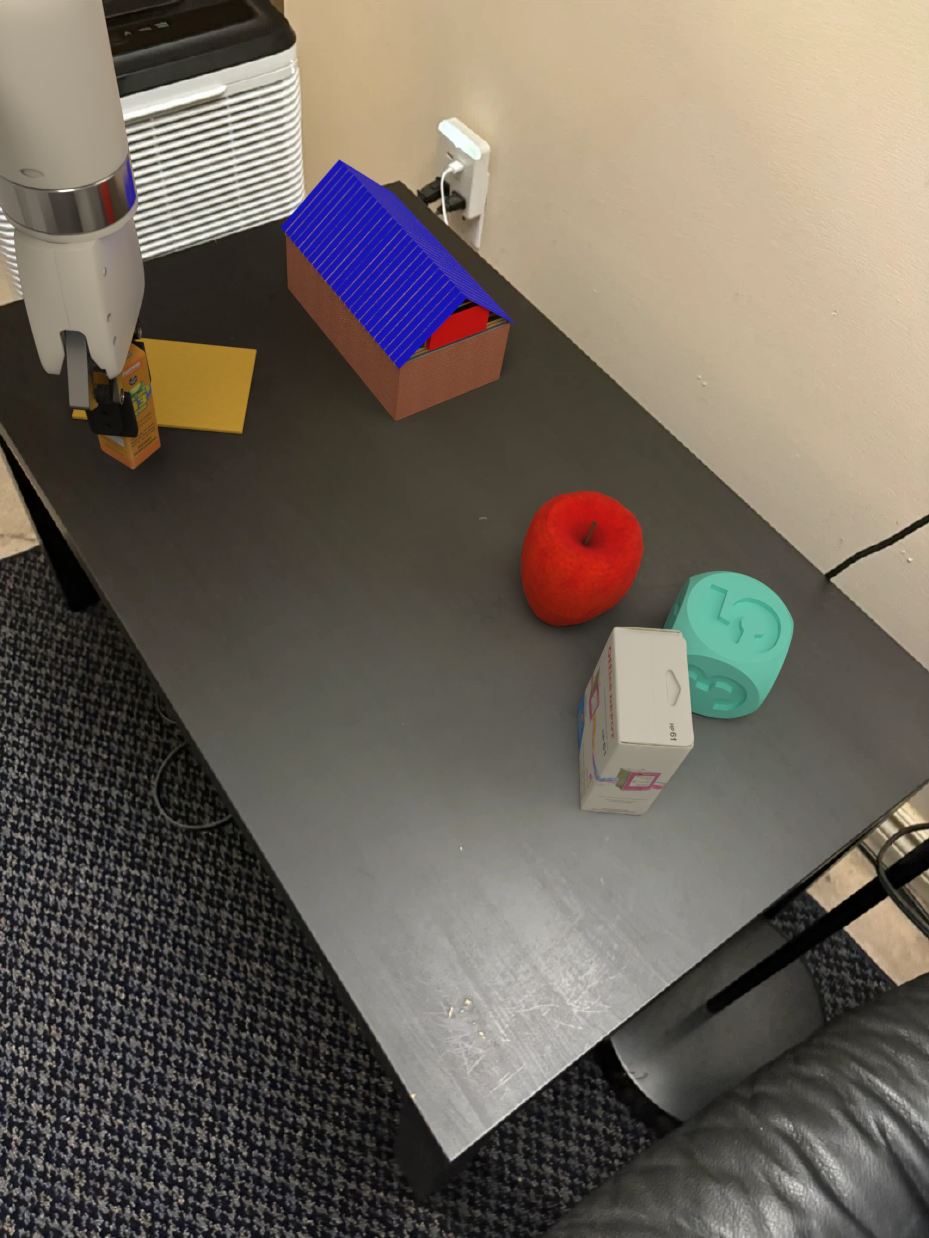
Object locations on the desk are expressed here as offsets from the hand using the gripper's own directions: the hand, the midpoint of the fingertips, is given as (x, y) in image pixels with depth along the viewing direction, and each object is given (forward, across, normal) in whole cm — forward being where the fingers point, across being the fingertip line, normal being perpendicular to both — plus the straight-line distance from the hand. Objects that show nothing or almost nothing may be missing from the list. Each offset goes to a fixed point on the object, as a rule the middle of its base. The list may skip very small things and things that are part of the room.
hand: (122, 406), depth 70 cm
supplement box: (+5, 0, 0) cm, 5 cm away
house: (+10, -21, +19) cm, 30 cm away
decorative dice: (+10, +13, +45) cm, 48 cm away
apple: (+10, +8, +34) cm, 36 cm away
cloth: (+10, -12, 0) cm, 15 cm away
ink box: (+10, +21, +37) cm, 44 cm away
